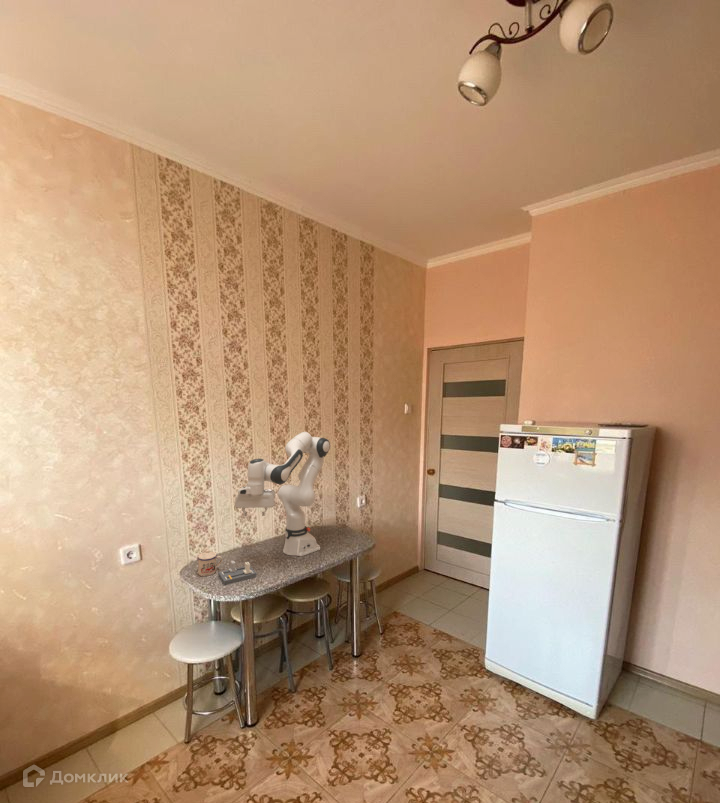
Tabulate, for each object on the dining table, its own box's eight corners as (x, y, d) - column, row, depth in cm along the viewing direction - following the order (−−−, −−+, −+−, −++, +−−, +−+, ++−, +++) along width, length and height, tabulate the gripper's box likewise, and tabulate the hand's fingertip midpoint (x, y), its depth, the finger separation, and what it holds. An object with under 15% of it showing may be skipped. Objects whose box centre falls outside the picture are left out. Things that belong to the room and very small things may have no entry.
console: (249, 568, 195) (249, 556, 195) (256, 576, 186) (256, 563, 186) (218, 576, 186) (218, 563, 186) (224, 585, 177) (224, 571, 177)
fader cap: (249, 570, 188) (249, 561, 188) (251, 572, 185) (251, 563, 185) (243, 571, 186) (243, 562, 186) (245, 574, 183) (245, 564, 183)
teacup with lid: (199, 578, 183) (200, 555, 183) (195, 571, 190) (196, 549, 190) (224, 572, 190) (224, 550, 190) (219, 565, 197) (220, 544, 197)
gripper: (275, 488, 199) (274, 513, 198) (237, 488, 195) (236, 514, 195) (275, 491, 192) (274, 517, 192) (234, 491, 189) (233, 517, 189)
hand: (254, 515), depth 194 cm, fingers open, 8 cm apart
